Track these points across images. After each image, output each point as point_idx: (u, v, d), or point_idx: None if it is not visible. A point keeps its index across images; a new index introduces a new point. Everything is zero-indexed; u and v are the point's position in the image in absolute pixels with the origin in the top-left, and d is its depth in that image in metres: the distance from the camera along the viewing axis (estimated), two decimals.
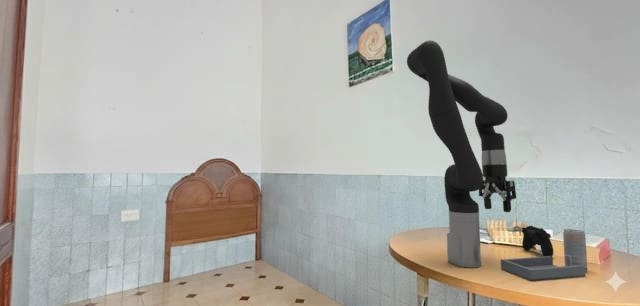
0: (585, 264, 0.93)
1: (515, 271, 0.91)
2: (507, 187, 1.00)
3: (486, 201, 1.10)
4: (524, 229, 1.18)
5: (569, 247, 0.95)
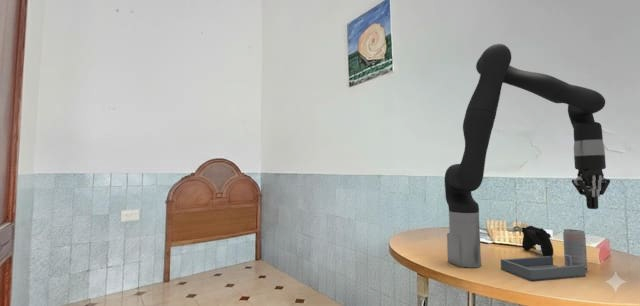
0: (585, 264, 0.93)
1: (515, 271, 0.91)
2: (606, 185, 0.98)
3: None
4: (524, 229, 1.18)
5: (569, 247, 0.95)
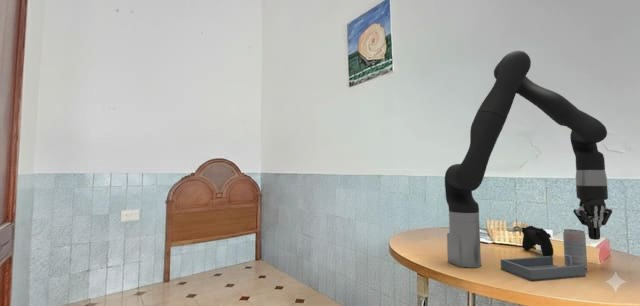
0: (585, 264, 0.93)
1: (515, 271, 0.91)
2: (608, 215, 0.98)
3: None
4: (524, 229, 1.18)
5: (569, 247, 0.95)
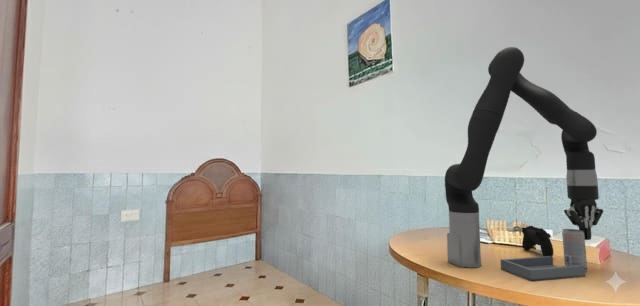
0: (585, 264, 0.93)
1: (515, 271, 0.91)
2: (599, 215, 0.97)
3: None
4: (524, 229, 1.18)
5: (568, 247, 0.95)
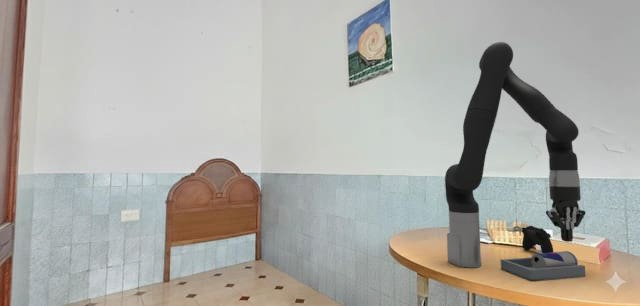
0: (572, 262, 0.92)
1: (515, 271, 0.91)
2: (581, 217, 0.96)
3: None
4: (524, 229, 1.18)
5: None
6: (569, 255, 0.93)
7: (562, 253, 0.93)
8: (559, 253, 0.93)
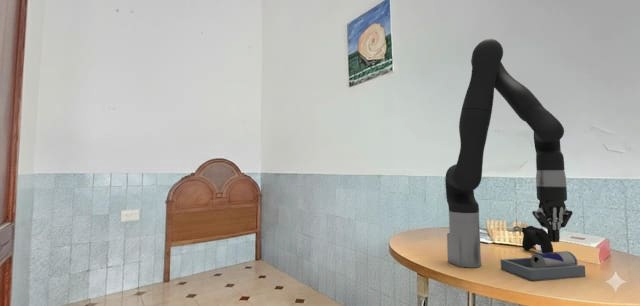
0: (572, 262, 0.92)
1: (515, 271, 0.91)
2: (568, 217, 0.95)
3: None
4: (524, 229, 1.18)
5: None
6: (569, 255, 0.93)
7: (561, 253, 0.93)
8: (558, 253, 0.93)
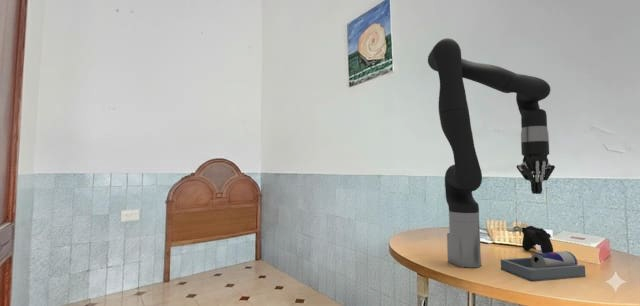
0: (572, 262, 0.92)
1: (515, 271, 0.91)
2: (551, 171, 1.01)
3: None
4: (524, 229, 1.18)
5: None
6: (569, 255, 0.93)
7: (562, 253, 0.93)
8: (559, 253, 0.93)
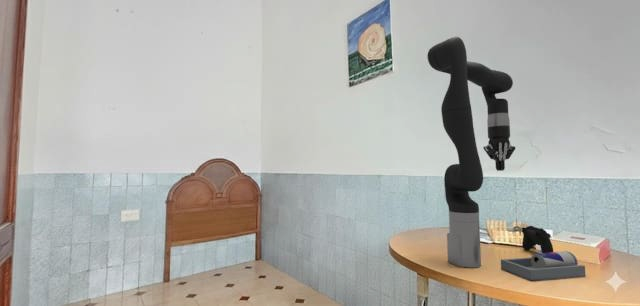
0: (572, 262, 0.92)
1: (515, 271, 0.91)
2: (512, 151, 1.19)
3: None
4: (524, 229, 1.18)
5: None
6: (569, 255, 0.93)
7: (562, 253, 0.93)
8: (559, 253, 0.93)
